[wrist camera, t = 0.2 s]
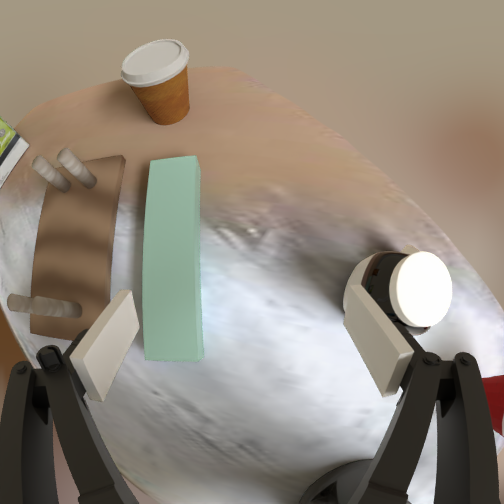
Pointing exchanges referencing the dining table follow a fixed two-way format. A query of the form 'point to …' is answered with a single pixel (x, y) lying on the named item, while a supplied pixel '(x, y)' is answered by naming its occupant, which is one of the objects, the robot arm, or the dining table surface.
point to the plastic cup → (495, 401)
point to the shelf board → (172, 262)
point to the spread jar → (405, 286)
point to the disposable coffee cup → (159, 79)
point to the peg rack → (72, 245)
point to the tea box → (9, 149)
